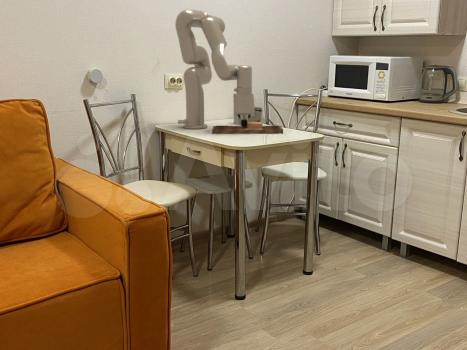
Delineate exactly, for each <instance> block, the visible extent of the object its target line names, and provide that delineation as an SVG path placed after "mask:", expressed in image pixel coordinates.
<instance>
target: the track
mask: <svg viewBox="0 0 467 350" xmlns="http://www.w3.org/2000/svg"><path fill="white" fill-rule="evenodd" d="M279 133H281V134H280V135H282V134H284V128H283V126H282V125H262V129H247V126H246V128H243V126H241V125H213V126H212V132H211V134H212V135H213V134H221V135H222V134H225V135H227V134H235V135H236V134H237V135H238V134H240V135H241V134H245V135H247V134H254V135H255V134H257V135H258V134H259V135H260V134H261V135H262V134H263V135H265V134H266V135H267V134H270V135H271V134H272V135H275V134H278V135H279Z"/></svg>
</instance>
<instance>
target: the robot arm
mask: <svg viewBox="0 0 467 350" xmlns="http://www.w3.org/2000/svg"><path fill="white" fill-rule="evenodd" d="M192 28H197V29H198V28H199V29H201V30H202V32H203V35H204V36H205V38H206V42H207V43H208V46H209V48H210V50H211V57H210V58H211V62H210V58H209V53H208V50H207V49H206V48H205V47H203V46H201V45H197V41H196V36H195V33H194V32H193V30H192ZM225 30H226V23H225V22H224V20H223V19H222V18H221V17H220V16H219V17H218V16H215V15H213V14H210V13H209V12H206V11H203V10H197V9H184V10H181V11H180V12H179V13H178V15H177V16H176V19H175V32H176V34H177V38H178V43H179V48H180V52H181V53H180V54H181V58H182V61H183V63H185V64H187V65H194V66H191V67H188V68H187V69H186V70H185V71H184V73H183V83H184V87H185V110H186V111H185V117H186V118H185V119H178V120H177V123H178V124H179V125H181V124H182V125H183V128H184V129H190V130H191V129H192V130H198V129H206V128H208V125H207V124H206V123H205V93H204V89H203V85H207V84H209V83H210V82H211V81H212V78H213V77H212V76H213V72H212V67H213V69H214V71H215V73H216V75H217V77H218V78H219V79H220V80H221V81H225V82H227V81H228V82H229V81H235V80H236V87H235V88H233V92H234V93H236V94H235V99H234V98H233V117H234V116H238V117H239V118H240V119H241V125H240V126H243V128H246V126H247V120H248V118H249V117H251V116H255V113H254V107H255V96H254V93H252V92H253V89H252V88H253V85H252V84H253V68H252V66H251V65H237V64H228V63H227V61H226V58H225V54H224V51H225V49H226V47H227V45H228V44H227V43H228V42H227V40H226V38H225V35H224V32H225ZM211 63H212V67H211ZM243 114H246V117H245V120H244V118H243ZM248 114H249V115H248Z"/></svg>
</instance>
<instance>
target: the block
mask: <svg viewBox="0 0 467 350" xmlns="http://www.w3.org/2000/svg"><path fill="white" fill-rule="evenodd" d="M262 126H263V122H262V121H260V122H247V129H262Z"/></svg>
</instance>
